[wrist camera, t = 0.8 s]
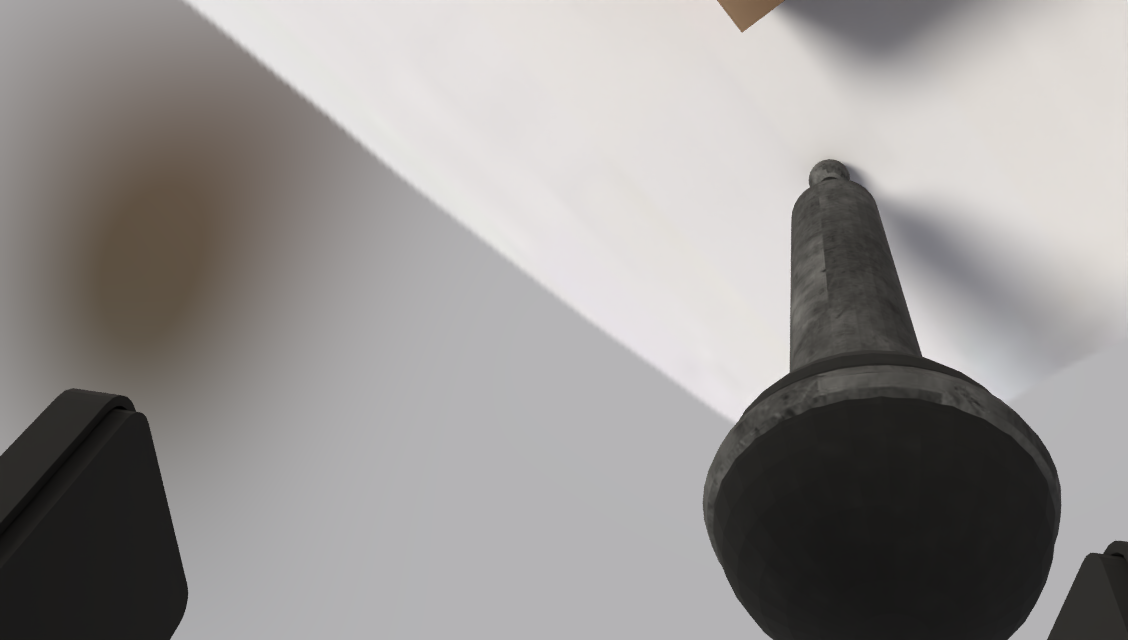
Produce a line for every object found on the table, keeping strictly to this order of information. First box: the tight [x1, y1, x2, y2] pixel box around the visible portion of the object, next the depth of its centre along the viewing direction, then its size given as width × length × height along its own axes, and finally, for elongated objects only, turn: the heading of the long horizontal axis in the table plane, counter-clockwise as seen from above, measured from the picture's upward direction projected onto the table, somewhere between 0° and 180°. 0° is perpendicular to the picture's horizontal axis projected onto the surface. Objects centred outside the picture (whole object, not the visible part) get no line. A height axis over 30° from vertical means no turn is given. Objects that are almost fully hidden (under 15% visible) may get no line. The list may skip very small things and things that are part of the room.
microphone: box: [703, 159, 1061, 640], centre depth 26 cm, size 7×7×20 cm
